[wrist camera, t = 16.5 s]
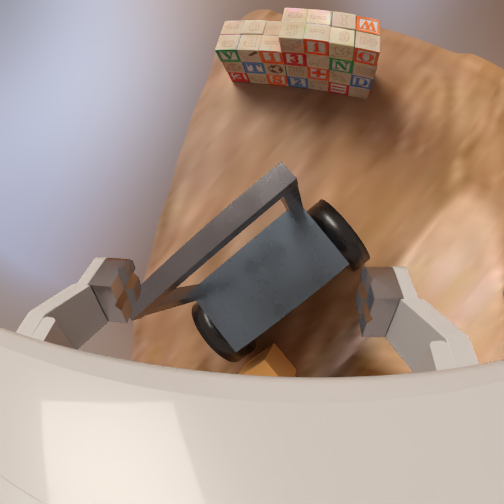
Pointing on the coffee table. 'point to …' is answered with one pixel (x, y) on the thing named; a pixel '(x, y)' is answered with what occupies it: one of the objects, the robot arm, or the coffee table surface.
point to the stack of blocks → (304, 51)
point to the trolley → (255, 266)
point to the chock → (269, 364)
